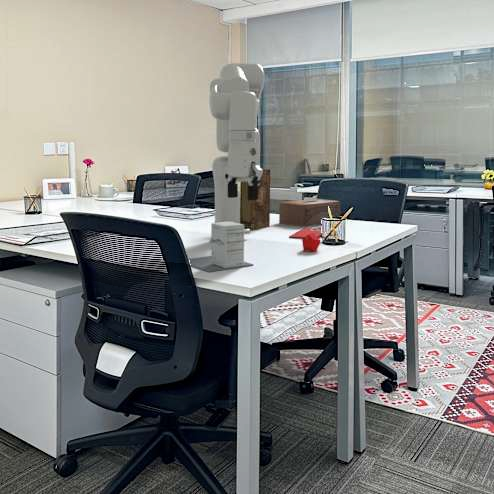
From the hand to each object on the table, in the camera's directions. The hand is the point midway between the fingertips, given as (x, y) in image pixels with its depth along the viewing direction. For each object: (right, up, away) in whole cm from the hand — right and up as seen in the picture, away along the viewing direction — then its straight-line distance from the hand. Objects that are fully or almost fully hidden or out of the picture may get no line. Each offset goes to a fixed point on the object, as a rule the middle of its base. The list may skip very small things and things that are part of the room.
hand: (242, 198), depth 164 cm
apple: (+23, -15, +36) cm, 45 cm away
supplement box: (-5, -19, +10) cm, 22 cm away
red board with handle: (+30, -9, +73) cm, 79 cm away
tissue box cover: (+31, -3, +105) cm, 109 cm away
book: (+5, -6, +87) cm, 88 cm away
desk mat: (-9, -19, +13) cm, 25 cm away
